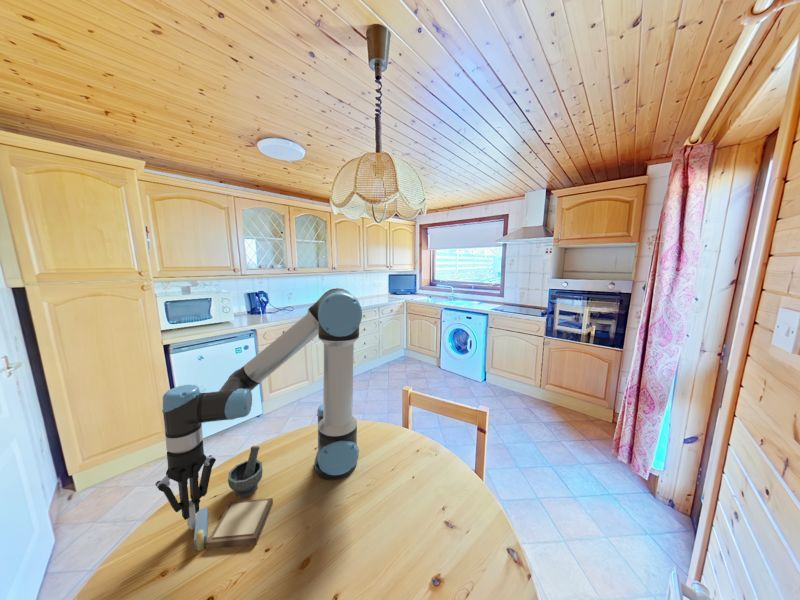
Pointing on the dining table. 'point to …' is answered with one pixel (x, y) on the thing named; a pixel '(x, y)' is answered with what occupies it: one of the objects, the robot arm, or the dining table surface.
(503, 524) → the dining table surface
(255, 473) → the mortar and pestle
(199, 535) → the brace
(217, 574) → the dining table surface
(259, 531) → the stand
